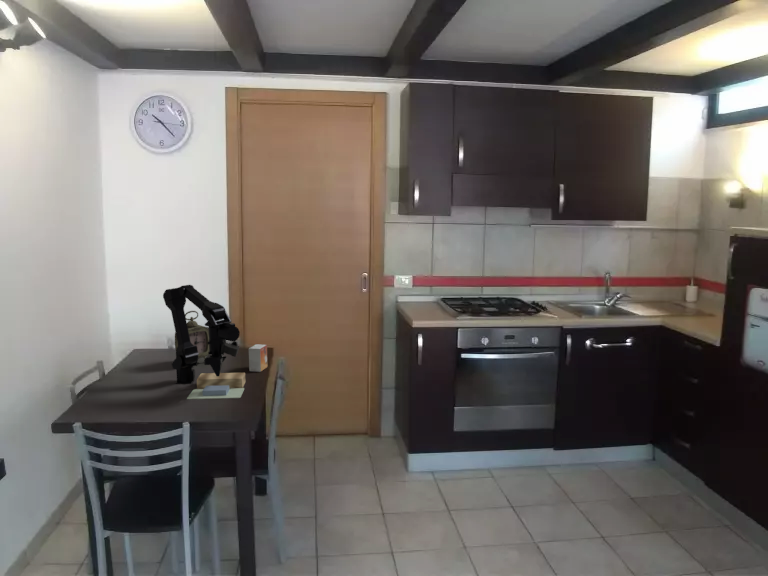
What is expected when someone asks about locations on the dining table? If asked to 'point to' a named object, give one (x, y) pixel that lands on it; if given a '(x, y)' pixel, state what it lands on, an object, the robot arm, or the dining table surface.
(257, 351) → the small box
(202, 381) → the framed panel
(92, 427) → the dining table surface
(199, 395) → the mat
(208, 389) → the slate blue board
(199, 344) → the tabletop clock
